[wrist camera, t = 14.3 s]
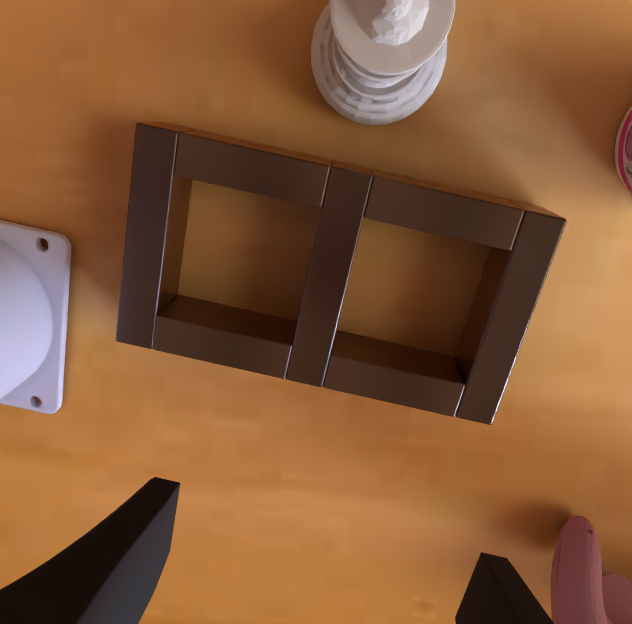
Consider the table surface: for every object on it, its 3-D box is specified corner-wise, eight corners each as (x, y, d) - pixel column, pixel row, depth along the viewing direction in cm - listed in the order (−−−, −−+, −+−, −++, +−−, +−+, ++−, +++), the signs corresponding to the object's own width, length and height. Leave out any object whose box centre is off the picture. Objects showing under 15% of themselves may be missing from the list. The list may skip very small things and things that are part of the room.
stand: (140, 318, 23) (115, 341, 20) (162, 121, 20) (135, 121, 18) (478, 394, 23) (492, 426, 20) (543, 207, 20) (568, 219, 18)
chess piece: (301, -1, 18) (242, -126, 9) (434, -30, 18) (520, -195, 8) (324, 136, 20) (293, 151, 10) (448, 113, 19) (535, 107, 10)
